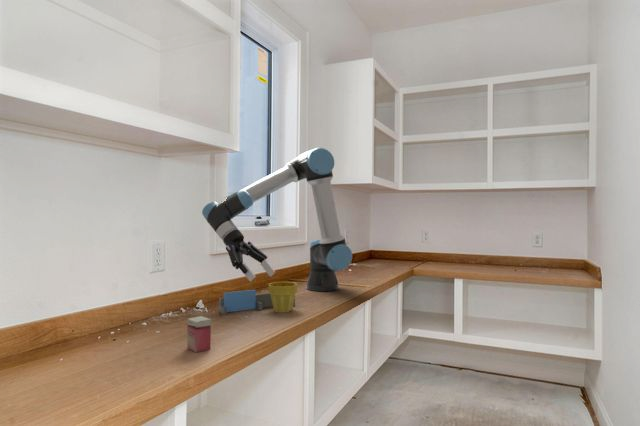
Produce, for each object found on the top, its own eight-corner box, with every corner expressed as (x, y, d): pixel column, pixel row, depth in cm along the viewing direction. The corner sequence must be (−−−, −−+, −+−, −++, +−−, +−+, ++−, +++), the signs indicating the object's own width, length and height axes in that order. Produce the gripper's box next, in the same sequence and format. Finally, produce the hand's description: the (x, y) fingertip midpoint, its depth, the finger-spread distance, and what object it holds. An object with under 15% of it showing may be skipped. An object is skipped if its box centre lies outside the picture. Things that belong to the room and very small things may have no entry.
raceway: (289, 303, 163) (289, 285, 163) (295, 305, 159) (295, 287, 159) (219, 311, 149) (219, 292, 149) (223, 314, 144) (223, 294, 144)
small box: (186, 348, 108) (186, 318, 108) (201, 344, 111) (201, 315, 111) (196, 353, 105) (196, 321, 105) (211, 349, 108) (211, 318, 108)
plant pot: (283, 315, 144) (283, 287, 144) (262, 311, 150) (262, 284, 150) (302, 309, 152) (302, 283, 152) (281, 306, 158) (281, 280, 158)
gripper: (243, 240, 173) (274, 278, 166) (203, 243, 150) (237, 288, 144) (254, 227, 170) (286, 266, 164) (215, 229, 148) (250, 274, 141)
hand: (263, 276), depth 154 cm, fingers open, 13 cm apart
